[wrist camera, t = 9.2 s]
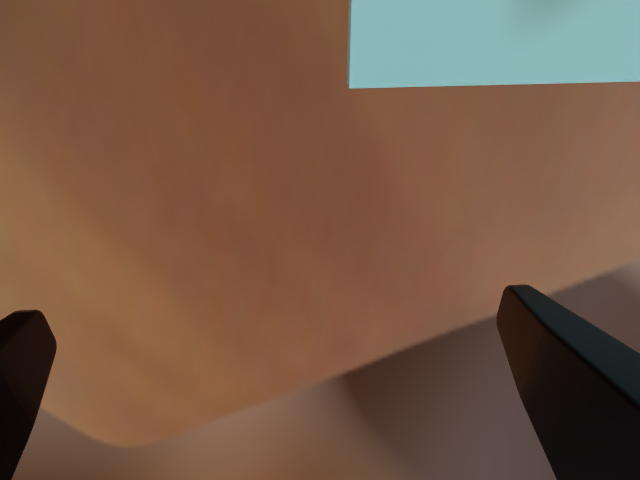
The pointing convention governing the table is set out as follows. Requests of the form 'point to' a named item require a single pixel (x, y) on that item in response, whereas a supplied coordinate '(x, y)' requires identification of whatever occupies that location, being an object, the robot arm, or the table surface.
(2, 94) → the table surface
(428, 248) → the table surface
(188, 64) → the table surface
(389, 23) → the cover
